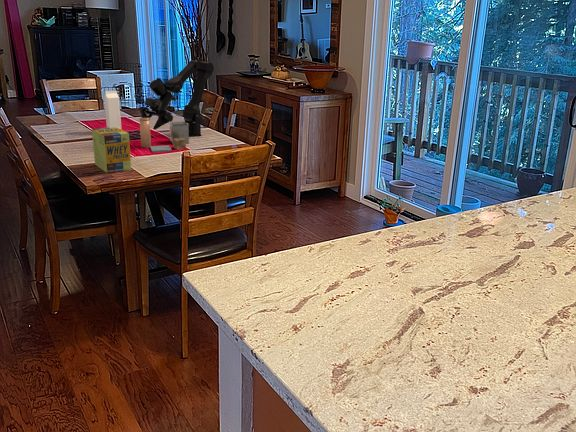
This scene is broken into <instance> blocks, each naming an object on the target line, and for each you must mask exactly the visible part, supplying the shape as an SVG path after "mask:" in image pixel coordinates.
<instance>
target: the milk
mask: <svg viewBox="0 0 576 432" xmlns="http://www.w3.org/2000/svg"><path fill="white" fill-rule="evenodd" d="M103 99H104V100H103V101H104V109H105V111H104V112H105V120H106V122H105V123H106V128H109V127H117V128H119V129H121V130H122V121H121V119H122V118H121V109H120V107H121V106H120V96H119V95H118V91H117V90H116V89H115V90H105V94H104V95H103Z"/></svg>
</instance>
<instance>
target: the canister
mask: <svg viewBox="0 0 576 432" xmlns="http://www.w3.org/2000/svg"><path fill="white" fill-rule="evenodd" d="M138 119H139V130H140V131H139V133H140V145H141V148H146V149H147V148H150V146H152V142H151V141H152V139H151V138H152V137H151V121H150V120H151V117H150V118H148V117H142V116H141V117H139V118H138Z"/></svg>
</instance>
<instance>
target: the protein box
mask: <svg viewBox="0 0 576 432" xmlns="http://www.w3.org/2000/svg"><path fill="white" fill-rule="evenodd" d="M91 135H92V146H93V157H94V165H95V166H96V167H98V168H99V169H101V170H102V171H103V172H104V173H106V174H110V173H116V172H126V171H131V170H132V161H131V160H132V159H131V158H132V157H131V148H130V145H131V144H130V133H129V132H127V131H125V130H124V129H122V128H121V129H119V128H117V127H109V128H107V127H98V128H97V127H96V128H91Z"/></svg>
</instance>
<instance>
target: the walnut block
mask: <svg viewBox="0 0 576 432" xmlns="http://www.w3.org/2000/svg"><path fill="white" fill-rule="evenodd" d="M172 146H173V147H172V148H173V149H175V150H178V151H179V149H180V150H185V149H184V148H186V149H187V143H186V140H185V139H183V138H176V139H173V144H172Z"/></svg>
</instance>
